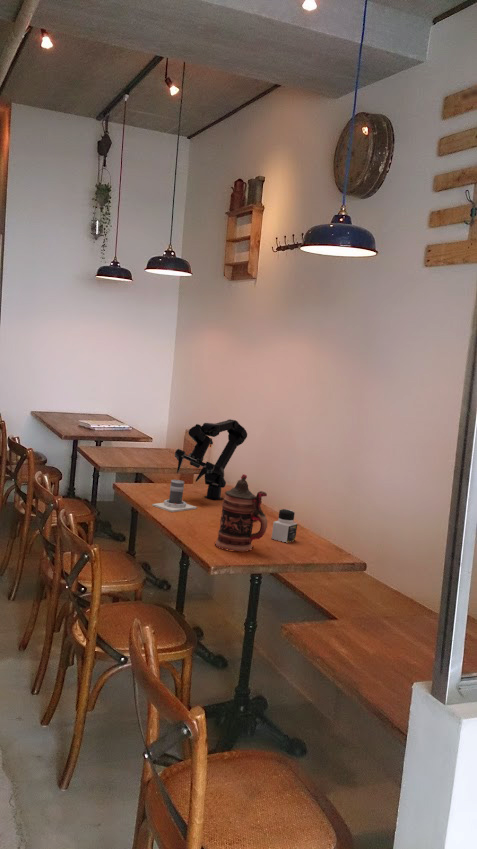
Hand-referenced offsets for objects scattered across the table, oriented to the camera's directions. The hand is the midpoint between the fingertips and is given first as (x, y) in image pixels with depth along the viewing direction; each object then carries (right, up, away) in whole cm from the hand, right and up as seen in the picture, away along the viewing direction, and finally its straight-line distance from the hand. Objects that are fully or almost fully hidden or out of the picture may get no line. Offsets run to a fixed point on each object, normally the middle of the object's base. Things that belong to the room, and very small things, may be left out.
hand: (186, 477), depth 333 cm
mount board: (-5, -13, -8) cm, 16 cm away
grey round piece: (-4, -12, -8) cm, 15 cm away
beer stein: (+23, -22, -61) cm, 69 cm away
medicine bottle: (+41, -22, -41) cm, 62 cm away
